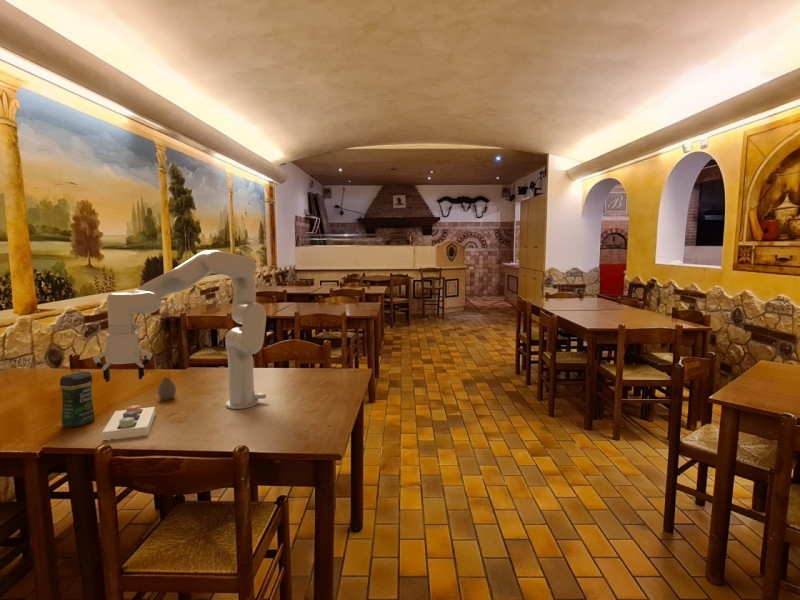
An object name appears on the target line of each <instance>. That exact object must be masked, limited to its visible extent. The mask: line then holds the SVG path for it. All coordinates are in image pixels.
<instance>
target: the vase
mask: <svg viewBox="0 0 800 600" xmlns="http://www.w3.org/2000/svg"><path fill="white" fill-rule="evenodd" d="M176 393H177V387H176V385H175V383H174V382H173V381H172V380H171V378H170V377H165V378H163V379H162V380H161V382H160V384H159V385H158V387H157V394H158V397H159V398H160V399H161V400H162V401H169V400H172V399H173V398H174V397H175V396H176Z"/></svg>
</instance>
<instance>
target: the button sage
mask: <svg viewBox="0 0 800 600" xmlns="http://www.w3.org/2000/svg"><path fill="white" fill-rule="evenodd" d="M119 424H120V426H119V429H122V428H130V427H135V426H136V424H135V422H134V418H133V417H128V418H123V419H121V420H119Z"/></svg>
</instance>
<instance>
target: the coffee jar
mask: <svg viewBox="0 0 800 600" xmlns="http://www.w3.org/2000/svg"><path fill="white" fill-rule="evenodd" d="M93 381H94V380H93V375H92V373H91V372H90V371H84V370H83V371H77V372H74V373H70V374H66V375H62V376H61V377H60V379H59V388H60V389H61V390H60V391H61V394H62V407H61V410H62V411H61V424H62V426H64V427H66V428H72V427H80V426H83V425H87V424H89V423H90V422H93V421H94V420H95V416H96V415H95V409H94V404H93V396H92V395H93V394H92V385H93Z"/></svg>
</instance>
